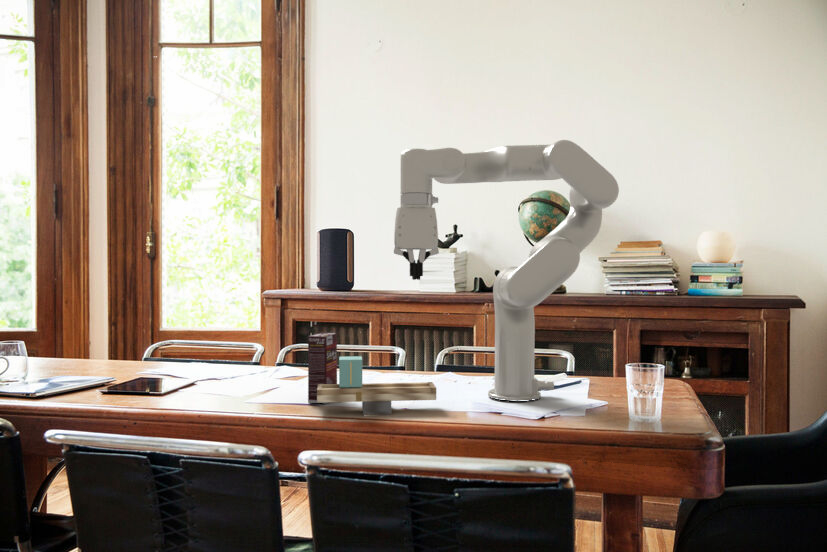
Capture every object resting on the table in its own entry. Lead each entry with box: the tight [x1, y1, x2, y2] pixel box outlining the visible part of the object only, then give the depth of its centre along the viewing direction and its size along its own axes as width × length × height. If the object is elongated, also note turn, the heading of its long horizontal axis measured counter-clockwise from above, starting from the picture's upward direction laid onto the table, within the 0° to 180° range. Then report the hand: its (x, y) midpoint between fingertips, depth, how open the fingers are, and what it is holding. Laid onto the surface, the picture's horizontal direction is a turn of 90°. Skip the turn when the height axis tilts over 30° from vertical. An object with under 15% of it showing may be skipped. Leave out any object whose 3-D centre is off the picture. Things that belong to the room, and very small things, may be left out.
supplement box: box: [307, 332, 338, 405], centre depth 167 cm, size 9×5×16 cm, turn 168°
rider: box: [338, 355, 363, 388], centre depth 155 cm, size 5×5×7 cm
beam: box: [317, 381, 437, 416], centre depth 156 cm, size 26×9×6 cm, turn 96°
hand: (416, 279), depth 166 cm, fingers closed
